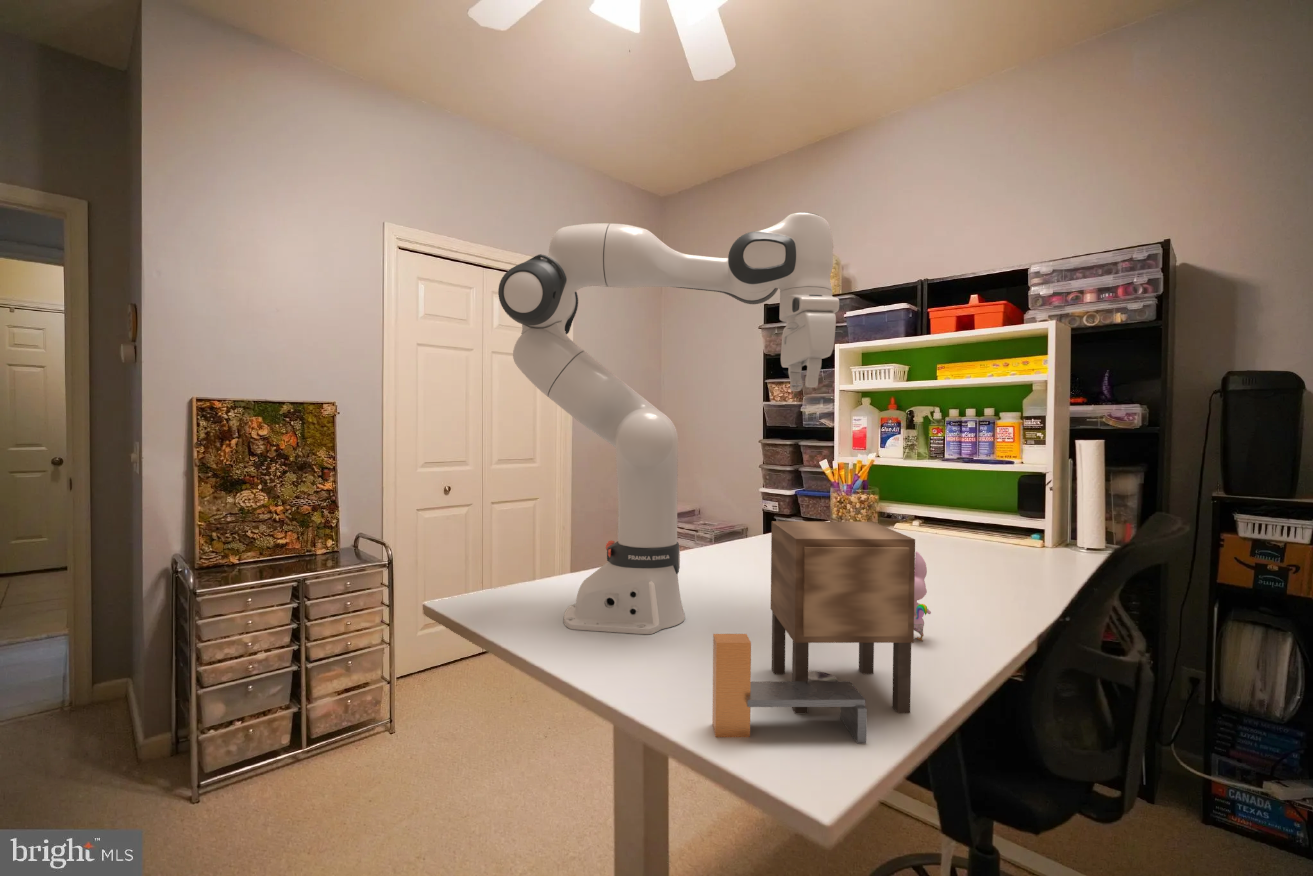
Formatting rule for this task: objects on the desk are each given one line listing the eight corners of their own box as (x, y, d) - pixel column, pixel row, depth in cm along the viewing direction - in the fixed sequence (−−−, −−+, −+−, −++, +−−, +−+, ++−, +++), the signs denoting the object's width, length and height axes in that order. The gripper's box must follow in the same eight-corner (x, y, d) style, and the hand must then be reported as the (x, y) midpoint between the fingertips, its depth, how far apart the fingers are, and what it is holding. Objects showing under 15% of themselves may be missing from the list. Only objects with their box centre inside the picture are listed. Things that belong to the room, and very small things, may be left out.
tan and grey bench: (717, 744, 68) (718, 647, 68) (711, 718, 74) (711, 629, 74) (866, 743, 69) (867, 647, 68) (848, 718, 74) (849, 629, 74)
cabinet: (795, 716, 75) (797, 539, 74) (769, 669, 89) (771, 521, 89) (914, 716, 75) (917, 540, 75) (870, 669, 90) (872, 521, 89)
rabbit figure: (922, 635, 105) (924, 549, 104) (943, 647, 99) (945, 556, 99) (888, 636, 104) (890, 549, 104) (907, 649, 98) (909, 557, 98)
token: (804, 701, 79) (805, 686, 79) (795, 685, 84) (795, 671, 84) (842, 701, 80) (842, 686, 79) (830, 685, 85) (830, 671, 84)
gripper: (773, 319, 115) (771, 392, 115) (803, 296, 95) (801, 384, 95) (806, 320, 115) (804, 392, 116) (843, 297, 95) (841, 385, 95)
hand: (803, 389), depth 105 cm, fingers open, 8 cm apart
